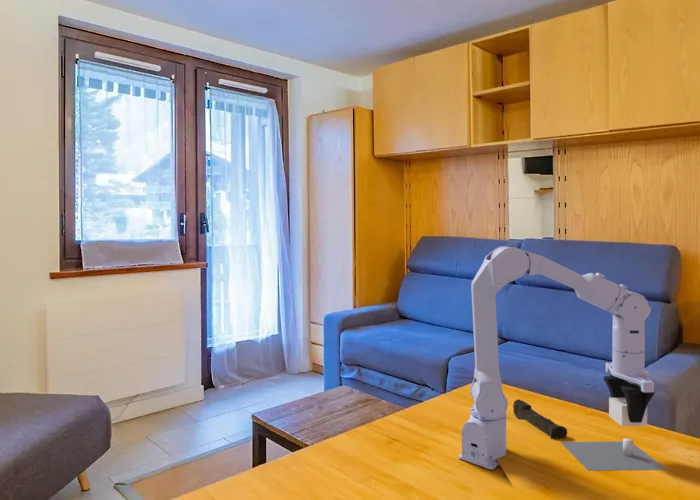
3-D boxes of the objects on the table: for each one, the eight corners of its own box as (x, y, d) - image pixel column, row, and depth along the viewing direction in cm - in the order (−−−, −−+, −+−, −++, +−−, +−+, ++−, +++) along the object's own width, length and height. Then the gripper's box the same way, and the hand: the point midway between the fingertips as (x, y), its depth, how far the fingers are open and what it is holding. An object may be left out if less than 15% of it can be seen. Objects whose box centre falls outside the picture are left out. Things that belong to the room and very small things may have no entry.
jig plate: (588, 476, 97) (588, 454, 97) (560, 447, 110) (560, 428, 110) (667, 475, 97) (667, 453, 96) (630, 446, 110) (630, 427, 109)
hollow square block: (621, 425, 100) (621, 405, 100) (609, 416, 105) (609, 397, 105) (647, 425, 100) (647, 405, 100) (633, 416, 105) (633, 397, 105)
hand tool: (568, 444, 112) (568, 423, 112) (551, 445, 111) (551, 424, 111) (524, 414, 131) (524, 396, 131) (509, 415, 130) (509, 397, 130)
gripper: (670, 358, 95) (670, 430, 96) (628, 342, 110) (628, 404, 110) (632, 359, 95) (632, 430, 96) (595, 342, 110) (595, 404, 110)
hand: (628, 416), depth 103 cm, fingers closed on hollow square block, 5 cm apart
